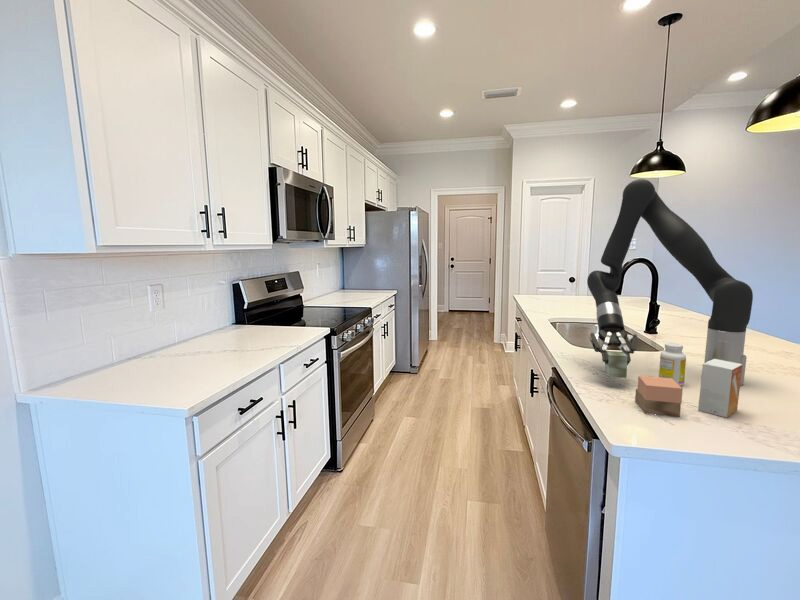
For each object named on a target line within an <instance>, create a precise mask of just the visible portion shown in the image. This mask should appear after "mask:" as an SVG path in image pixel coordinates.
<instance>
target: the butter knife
mask: <svg viewBox="0 0 800 600" xmlns="http://www.w3.org/2000/svg"><path fill="white" fill-rule="evenodd" d="M632 407H633V408H635V409H636V408H637V409H636V410H638V409H639V410H638V411H641V412H642V413H644V412H643V411H642V409H641V408H640V407H639V406H638V405H634V406H633V405H632ZM648 416H651V417H653V418H655V419H658V418H660V419H661V421H663V420H664V421H663V422H665V423H667V422H668V424H669V423H670V425H671V426H675V424H674V423H672V422H670V421H668V420H666V419H664V418H663V419H662V417H661V416H660V415H655V414H650V413H649V414H648ZM660 419H659V420H660Z"/></svg>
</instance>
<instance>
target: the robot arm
mask: <svg viewBox="0 0 800 600" xmlns="http://www.w3.org/2000/svg"><path fill="white" fill-rule="evenodd" d="M641 218H642V219H643V220H645V222H646V223H647V224H648V226H649V227H650V229H651V230H652V232H653V234H654V235H655V236H656V238H657V239H658V241H659V242H660V243H661V244H662V246H663V247H664V248H665V249H666V251H668V253H669V254H670V255H671V256H672V257H673V258H674V259H675V260H676V261H677V262H678V263H679V264H680V265H681V266H682V267H683V268H685V270H687V271H688V272H689V273H690V274H691V275H692V276H693V277H694V279H696V281H697V282H698V283H699V285H700V286H701V288H702V289H703V290H704V291H705V293H706V294H707V296H708V297H709V299H710V300H711V302H712V309H711V315H710V317H709V319H708V322H707V331H706V332H707V334H706V342H705V343H706V344H705V351H704V352H705V353H704V360H703V364H704V363H706V362H707V361H710V360H713V359H718V360H723V361H729V362H734V363H739V364H743V366H742V374H741V382H740V386H744V382H745V377H746V376H745V374H746V368H747V367H746V365H747V355H745V353H744V351H745V342H746V334H747V326H748V325H749V323H750V320H751V315H752V314H751V313H752V307H753V299H754V294H753V290H752V287H751V286H750V285H749V284H748V283H746V282H744V281H742V280H737V279H735V278H734V277H733V276H732V275H731V274H730V273H728V271H726V270H725V269H724V268H723V267H722V266H721V265H720V263H719V262H718V261H717V260H716V259H715V257H714V255H713V253H712V251H711V250H710V247H709V246H708V244H707V243H706V241H705V240H704V239H703V238H702V237H701V235H699V233H698V232H697V231H696V230H695V229H694V228H693V227H692V226H691V225H690V223H688V222H687V221H685V220H684V219H683V218H682V217H680V216H679V215H678V214H677V213H675V212H674V211H673V210H672V209H670V207H668V205H666V203H665V201H663V200H662V198H661V197H660V196H659V194H658V193H657V191H656V187H655V186H654V184H653V182H651V181H650V180H648V179H643V178H642V179H641V178H639V179H635V180H632V181H631V182H629V183H628V184H627V185H626V186H625V187H624V189H623V192H622V199H621V205H620V209H619V213H618V216H617V219H616V222H615V225H614V228H613V229H612V232H611V234H610V237H609V238H608V240H607V243H606V246H605V248H604V251H603V253H602V255H601V258H600V263H602V265H604V266H606V267H609V269H610V270H609V272H608V271H603V270H593V271H592V272H590V273H589V274H588V276H587V281H586V283H587V288H588V289H589V291H590V293H591V295H592V297H593V299H594V301H595V306H596V313H595V314H596V321H597V327H598V333H594V332H591V333H590V334H589V340H590V343H591V345H592V348H593V350H594V352H596V353H600V354H601V358H602V359H601V360H602V362H603V363H604V365H605V364H608V361H609V360H608V352H607V351H608V349H607V348H608V347H611V346H615V347H618V348H619V350H621V352H624V353H625V354H626V355H627V366H628V365H629V364H630V363H631V361H632V358H631V355H632V354H635V351H636V349H637V341H638V340H637V339H638V335H637V334H633V335H632V334H628V333H627V332H626V329H625V325H624V324H625V323H624V320H623V315H622V310H621V309H622V308H621V307H620V303H619V302H620V301H619V297H618V294H617V293H616V291H618V289H619V288H620V285H621V281H622V280H621V279H622V270H623V263H624V261H625V260H626V259H625V258H626V257H627V254H628V251H629V249H630V246H631V243H632V241H633V237H634V234H635V231H636V228H637V226H638V224H639V221H640V219H641ZM598 339H600V340H601V341H602V342H603V343H602V344H603V345H602V346H600V343H599V341H598ZM626 339H627V340H628V342H629V343H630V346H628V345H627V342H626Z"/></svg>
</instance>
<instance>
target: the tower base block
mask: <svg viewBox="0 0 800 600" xmlns="http://www.w3.org/2000/svg"><path fill="white" fill-rule="evenodd" d="M634 396H635V397H634V403H635V404H636V403H637V404H636V406H639V407H640V408H641V409H642V411H643V412H642V411H641V412H642V413H643V414H646V415H649V413H650V414H656V415H657V416H665V415H666V416H665V417H676V418H677V417H678V418H680V416H681V407H682V402H681V403H672V402H662V401H653V400H645V399H644V397H643V396H642V395H641V393H640V392H639V391H638V389H637V388H636V389H635V395H634Z"/></svg>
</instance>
